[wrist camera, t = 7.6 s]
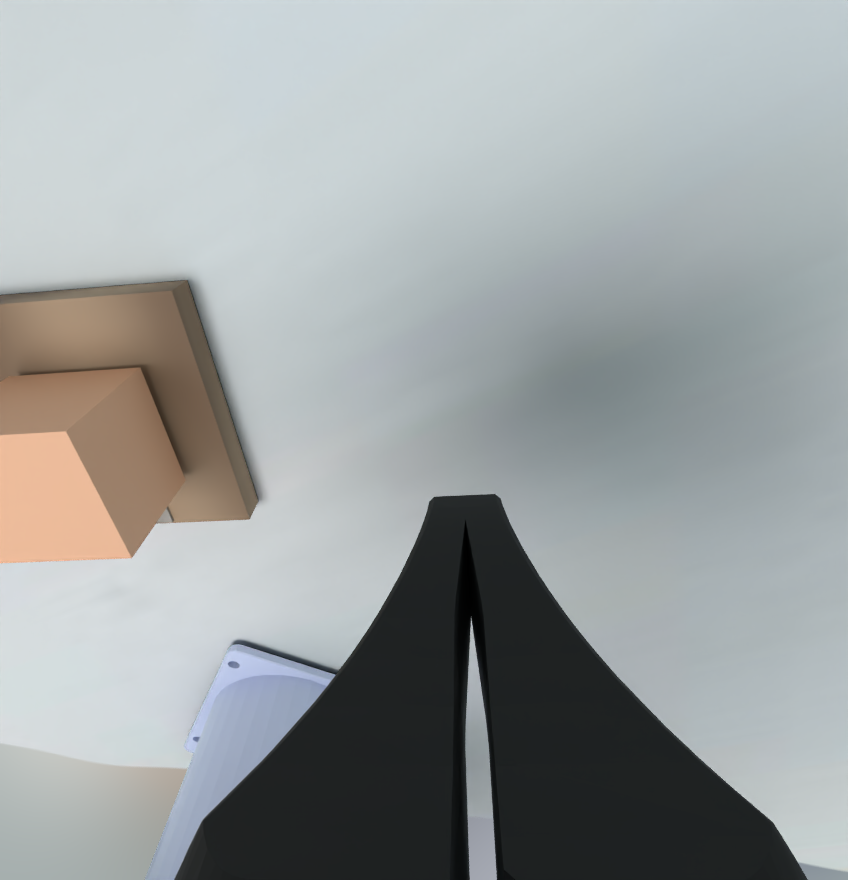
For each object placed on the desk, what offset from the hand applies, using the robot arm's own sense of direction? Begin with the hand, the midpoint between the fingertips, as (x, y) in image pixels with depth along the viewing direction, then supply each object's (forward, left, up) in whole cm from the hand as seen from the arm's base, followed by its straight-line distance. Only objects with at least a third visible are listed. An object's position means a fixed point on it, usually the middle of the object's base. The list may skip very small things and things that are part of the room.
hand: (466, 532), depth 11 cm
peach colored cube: (-6, +9, -5) cm, 12 cm away
